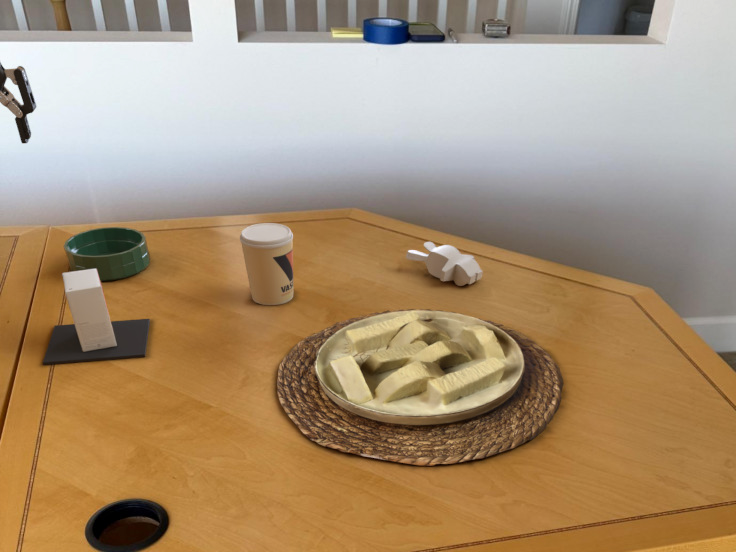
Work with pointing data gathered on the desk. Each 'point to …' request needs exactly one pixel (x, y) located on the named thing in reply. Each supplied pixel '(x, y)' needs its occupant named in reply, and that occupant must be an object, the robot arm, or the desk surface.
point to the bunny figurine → (448, 263)
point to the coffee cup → (269, 262)
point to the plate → (419, 387)
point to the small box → (89, 309)
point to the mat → (69, 349)
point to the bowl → (108, 252)
